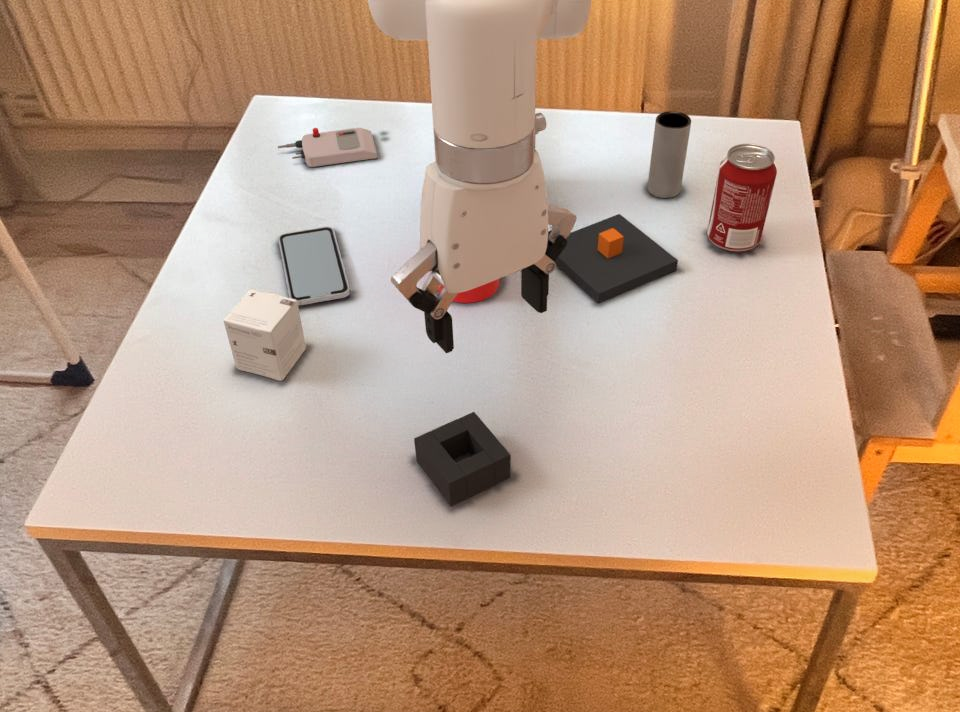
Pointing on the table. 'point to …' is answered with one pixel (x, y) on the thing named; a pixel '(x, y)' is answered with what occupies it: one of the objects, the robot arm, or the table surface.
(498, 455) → the black square ring block
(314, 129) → the handheld electronic tester
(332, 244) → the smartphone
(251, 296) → the product carton
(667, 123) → the gray hollow cylinder
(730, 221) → the soda can
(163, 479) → the table surface
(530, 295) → the robot arm
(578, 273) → the base pad
